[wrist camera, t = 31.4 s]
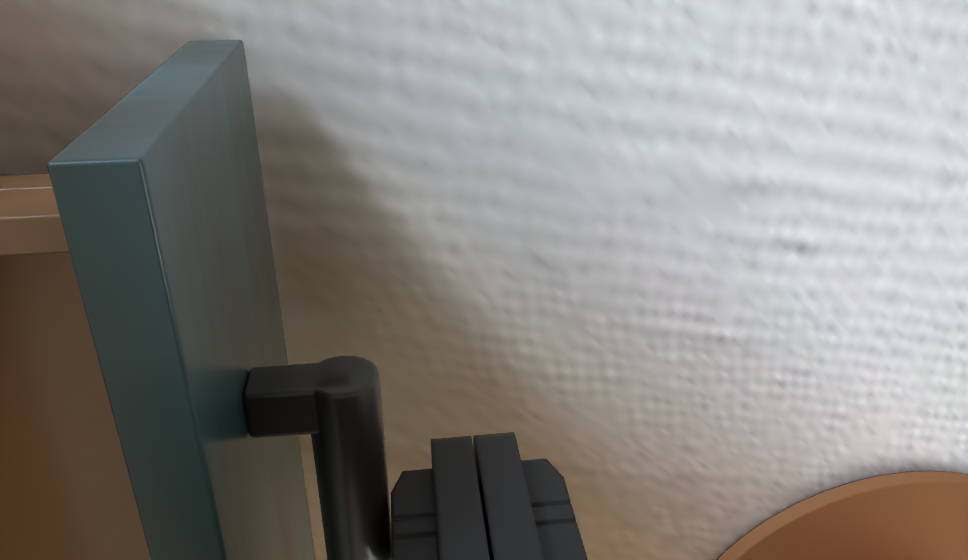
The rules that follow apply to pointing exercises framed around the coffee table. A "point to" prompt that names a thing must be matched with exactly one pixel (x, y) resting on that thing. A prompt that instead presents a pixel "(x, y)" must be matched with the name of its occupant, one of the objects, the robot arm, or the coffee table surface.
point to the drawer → (169, 349)
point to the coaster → (869, 522)
